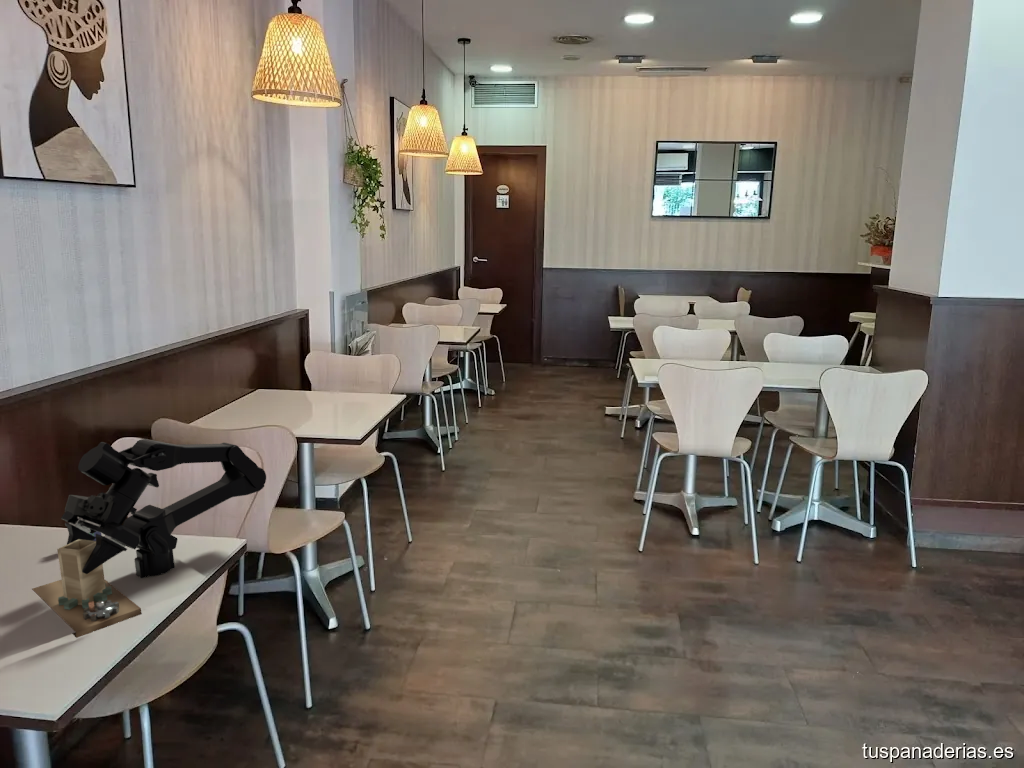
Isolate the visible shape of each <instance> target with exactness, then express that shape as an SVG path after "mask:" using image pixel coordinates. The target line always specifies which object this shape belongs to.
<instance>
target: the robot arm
mask: <svg viewBox="0 0 1024 768" xmlns="http://www.w3.org/2000/svg"><path fill="white" fill-rule="evenodd" d="M199 463H201V464H202V463H203V464H204V463H205V464H206V463H221V467H222V469H223V471H224V473H223V475H222V476H221V478H220V479H219V480H217V481H216V482H214V483H211V484H210V485H208V486H206V487H204V488H201V489H200V490H198V491H196V492H193V493H192V494H189V495H187V496H186V497H183V498H182V499H180V500H177V501H176V502H174V503H171V504H169V505H168V506H165V507H163V508H160V507H157V506H155V505H151V504H148V505H145V506H144V507H142V508H141V509H139V510H137V508H136V507H135V505H136V504H137V502H138V501H139V499H140V498H141V497H142V495H143V493H144V491H145V490H146V489H147V487H148V486H150V487H154V488H159V487H160V484H159V481H158V474H157V473H153V472H146V471H144V470H143V469H142V468H144V469H147V470H150V471H157V472H159V471H163V470H169V469H172V468H174V467H176V466H179V465H182V464H199ZM129 465H130V466H133V467H134V468H131V467H129ZM77 469H78V471H79V472H81V473H82V474H84V475H86V476H87V477H89V478H91V479H92V480H94V481H96V482H97V483H99V484H101V485H103V486H109V485H110V486H109V488H108V490H107V491H106V492H99V493H98V494H97V496H96V495H92V494H91V495H89V496H84V495H75V494H69V495H68V498H67V501H66V504H65V507H64V513H63V514H62V516H61V517H60V519H61V520H63V521H64V525H65V527H66V529H67V531H68V538H67V541H66V545H67V544H69V543H72V542H74V541H76V540H78V539H82V540H91V541H93V540H94V539H95V538H96V546H95V548H94V550H93V551H92V553H91V555H90V557H89V558H88V560H87V562H86V564H85V566H84V568H83V570H82V572H83V573H85V574H88V573H90V572H91V571H93V570H94V569H96V568H97V567H98V566H100V565H101V564H104V563H106V562H107V561H109V560H111V559H112V558H114V557H116V556H117V555H119V554H120V553H122V552H127V550H128V548H130V549H131V550H135V552H136V553H135V554H136V557H135V558H134V559H133V560H134V567H135V573H136V574H135V575H136V576H138V578H139V577H140V579H143V578H148V577H156V576H161V575H164V574H166V573H169V572H170V571H172V570H173V569H175V557H174V550H175V549H176V547H177V543H178V537H177V536H174V535H172V533H173V532H174V530H175V529H176V528H177V527H178V526H180V525H182V524H185V523H186V522H188V521H189V520H191V519H193V518H195V517H198V516H200V515H201V514H203V513H204V512H207V511H209V510H211V509H213V508H215V507H216V506H218V505H219V504H220V505H221V504H222V503H224V502H226V501H228V500H229V499H231V498H235V497H243V496H248V495H251V494H255V493H258V492H260V491H261V490H263V489H264V487H265V484H266V482H267V474H266V471H265V470H264V468H261V467H259V465H257V463H255V462H254V460H252V459H251V458H250V457H249V456H248V455H247V454H246V453H244V451H243V450H242V448H240V446H238V445H237V444H233V443H228V442H221V443H194V444H192V443H191V444H189V443H187V444H186V443H185V444H184V443H183V444H182V443H181V444H175V443H171V442H170V443H168V442H164V441H159V440H154V439H147V438H143V439H139V440H137V441H136V443H135V444H133V445H132V446H130V447H129V448H126V449H123V450H120V451H118V450H116V449H115V448H114V447H113V446H112V445H110V444H109V443H107V442H104V441H101V442H99V443H98V445H97V446H95V447H93V448H91V449H90V450H89V451H87V452H86V453H84V454H83V455H82V457H81V459H79V462H78V465H77ZM129 515H130V516H129ZM96 531H98V532H100V533H101V534H102V536H101V535H98V534H96V537H94V536H92V535H91V534H89V533H92V534H93V533H95V532H96ZM103 535H104V536H103Z"/></svg>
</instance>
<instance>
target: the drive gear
mask: <svg viewBox="0 0 1024 768" xmlns="http://www.w3.org/2000/svg"><path fill="white" fill-rule="evenodd" d="M88 604H89V607H86V608H85V609H84V613H83V618H84V619H85V620H87V619H91V621H97V620H98V619H103V618H104V619H108V618H110V616H111V615H112V614H117V613H118V612H119V603H118V602H114V603H113V602H111V600H106V601H105V602H104V601H98V602H97V603H94V601H90V602H89V603H88Z"/></svg>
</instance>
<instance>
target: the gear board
mask: <svg viewBox="0 0 1024 768" xmlns="http://www.w3.org/2000/svg"><path fill="white" fill-rule="evenodd" d="M105 583H106V587H109V586H111V590H112V594H110V595H107V600H111V602H113V603H114V602H118V603H119V612H118V613H117V614H112V615H111V616H110V618H108V619H104V618H103V619H98V620H97V621H91V619H87V620H85V619H84V618H83V613H84V609H85V608H84V609H83V607H82V605H77V606H75V607H73V608H72V609H70V610H68V609H64V605H59V601H58V597H62V596H64V593H63V586H62V579H58V580H55V581H53V582H50V583H46V584H43V585H40V586H36V587H33V588H32V590H33V591H34V592H35V593H36V594H37V596H39V597H40V599H41V600H42V601H43V602H44V603H46V604H47V605H48V606H49V607H50V608H51V610H53V612H55V613H56V614H57V615H58V616H59V617H60V618H61V620H63V621H64V622H65V623H66V624H67V625H68V626H69V627H70V628H71V629H72V630H73V631H74V632H73V633H72V635H73V636H74V637H75V639H77V638H80V637H83V636H85V635H88V634H91V633H93V631H94V632H97V631H99V630H101V629H104V628H108V627H111V626H113V625H115V624H118V622H119V623H121V622H124V621H127V620H130V619H133V618H135V617H137V616H140V615H142V608H141V607H140V606H139V605H137V604H136V603H135V602H134V601H132V600H131V598H129V597H128V596H127V595H125V594H124V593H123V592H121V591H120V590H119V589H117V588H116V586H114V585H113V584H111V583H110V582H109V581H107V580H106V579H105ZM104 602H105V601H104ZM94 603H97V602H96V601H94ZM129 618H130V619H129ZM107 626H108V627H107Z"/></svg>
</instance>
